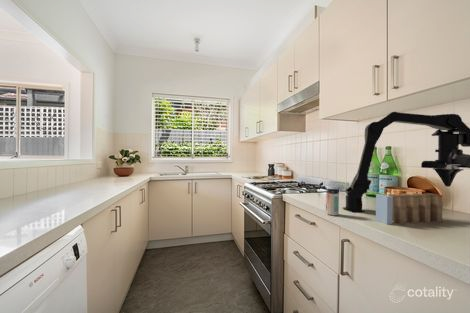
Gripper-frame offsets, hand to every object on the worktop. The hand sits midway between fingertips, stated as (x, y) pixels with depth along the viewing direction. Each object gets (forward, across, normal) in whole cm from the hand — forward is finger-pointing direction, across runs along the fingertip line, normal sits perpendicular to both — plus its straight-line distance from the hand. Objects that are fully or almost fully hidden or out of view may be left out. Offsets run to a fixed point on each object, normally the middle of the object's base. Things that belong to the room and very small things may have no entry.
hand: (447, 186), depth 84 cm
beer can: (+13, -42, +12) cm, 46 cm away
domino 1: (+13, -23, 0) cm, 27 cm away
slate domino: (+13, -29, 0) cm, 32 cm away
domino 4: (+13, -7, 0) cm, 15 cm away
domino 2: (+13, -18, 0) cm, 22 cm away
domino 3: (+13, -12, 0) cm, 18 cm away
